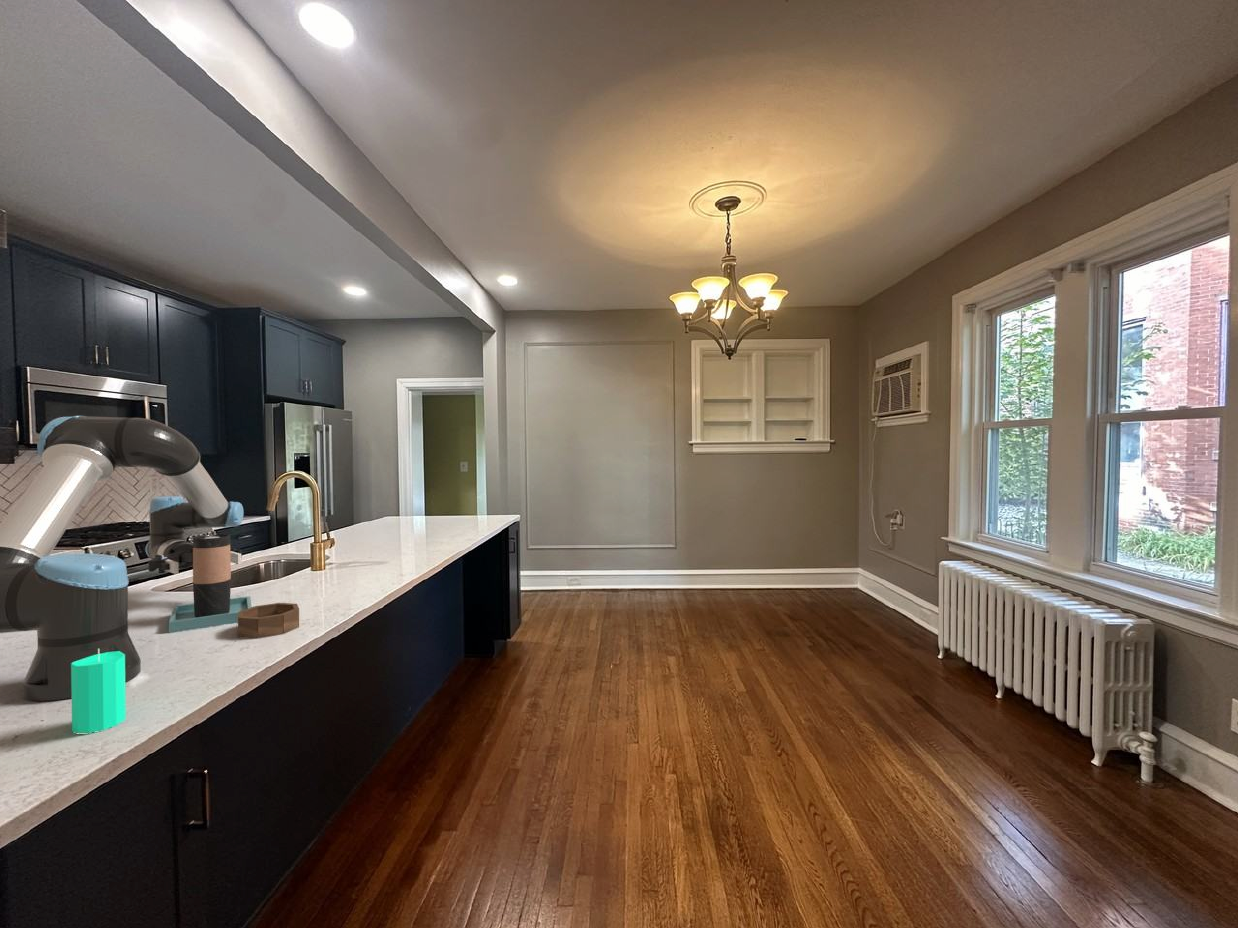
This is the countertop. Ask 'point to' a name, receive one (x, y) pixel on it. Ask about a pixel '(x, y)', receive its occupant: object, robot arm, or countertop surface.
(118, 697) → the candle
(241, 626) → the walnut collar
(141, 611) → the countertop surface
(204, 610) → the travel mug
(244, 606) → the slate tray
